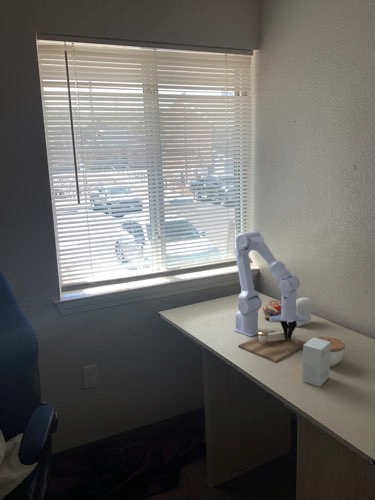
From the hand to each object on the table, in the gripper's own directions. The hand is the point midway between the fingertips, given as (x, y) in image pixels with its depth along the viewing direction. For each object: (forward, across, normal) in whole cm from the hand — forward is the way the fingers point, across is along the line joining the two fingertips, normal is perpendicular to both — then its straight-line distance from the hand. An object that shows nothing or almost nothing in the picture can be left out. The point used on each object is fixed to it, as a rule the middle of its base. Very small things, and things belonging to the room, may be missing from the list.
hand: (287, 338), depth 164 cm
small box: (+3, +3, -28) cm, 28 cm away
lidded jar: (+3, +11, -16) cm, 20 cm away
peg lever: (+1, -5, +1) cm, 5 cm away
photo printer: (+3, +11, +22) cm, 24 cm away
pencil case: (+3, +1, +34) cm, 35 cm away
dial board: (+2, -6, -2) cm, 6 cm away
